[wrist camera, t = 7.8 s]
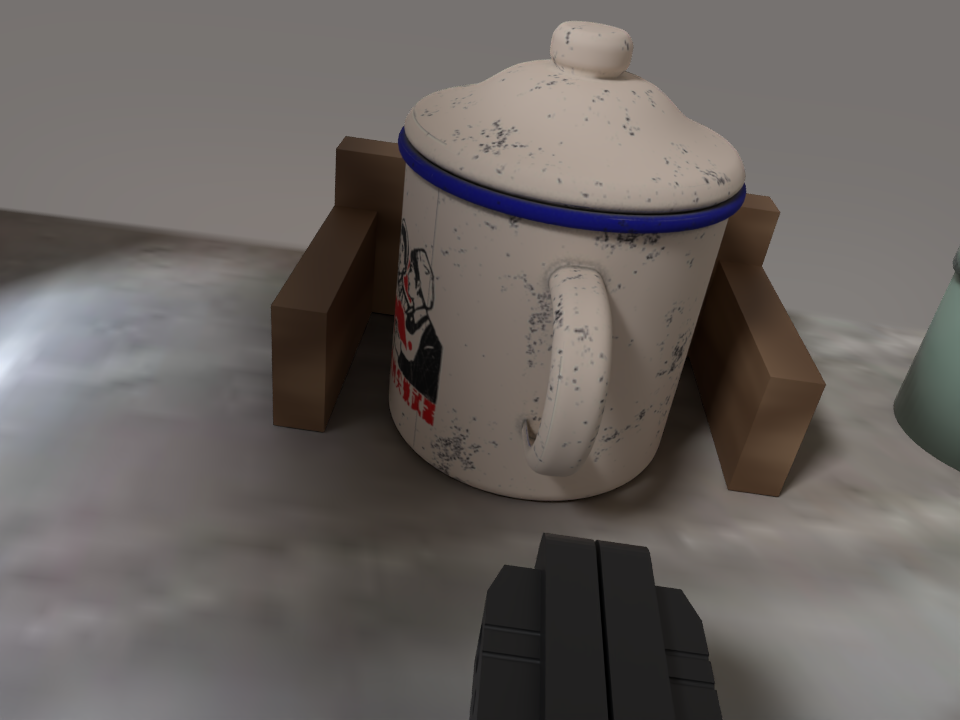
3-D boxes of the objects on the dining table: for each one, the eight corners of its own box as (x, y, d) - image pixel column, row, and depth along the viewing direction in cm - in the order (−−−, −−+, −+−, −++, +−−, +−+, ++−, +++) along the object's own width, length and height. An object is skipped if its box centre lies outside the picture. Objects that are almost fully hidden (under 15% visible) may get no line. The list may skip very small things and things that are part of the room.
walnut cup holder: (273, 424, 23) (269, 236, 20) (340, 288, 31) (345, 136, 28) (778, 496, 23) (853, 319, 20) (721, 342, 31) (769, 196, 28)
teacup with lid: (394, 328, 29) (421, -22, 23) (639, 355, 30) (729, 20, 23) (345, 580, 19) (368, 72, 13) (719, 614, 19) (916, 141, 13)
